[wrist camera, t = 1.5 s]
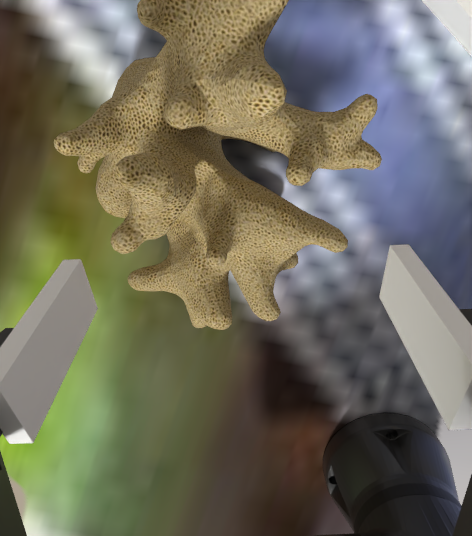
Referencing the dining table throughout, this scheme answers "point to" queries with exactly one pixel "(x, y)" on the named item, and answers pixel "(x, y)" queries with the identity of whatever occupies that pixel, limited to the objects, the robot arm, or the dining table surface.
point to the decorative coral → (213, 157)
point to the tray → (455, 19)
